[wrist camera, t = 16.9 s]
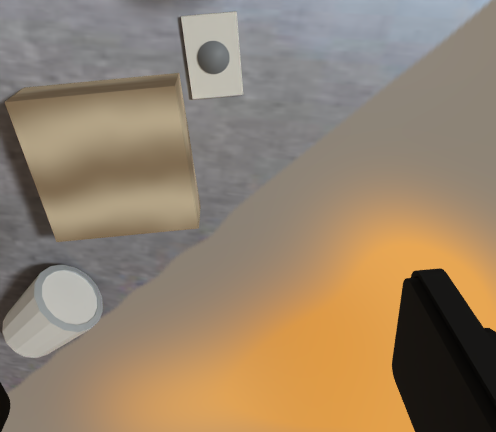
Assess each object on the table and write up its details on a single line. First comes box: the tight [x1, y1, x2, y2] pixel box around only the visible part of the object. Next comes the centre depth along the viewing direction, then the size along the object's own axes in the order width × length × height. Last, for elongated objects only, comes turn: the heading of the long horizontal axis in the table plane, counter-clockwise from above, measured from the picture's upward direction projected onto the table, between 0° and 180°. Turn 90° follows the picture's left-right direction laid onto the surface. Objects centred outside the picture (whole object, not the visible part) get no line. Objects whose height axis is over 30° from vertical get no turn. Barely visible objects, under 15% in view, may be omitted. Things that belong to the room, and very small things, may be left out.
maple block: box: [5, 73, 200, 242], centre depth 36 cm, size 12×12×4 cm
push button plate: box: [181, 11, 243, 99], centre depth 34 cm, size 6×4×1 cm, turn 4°
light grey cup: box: [2, 265, 103, 358], centre depth 42 cm, size 7×7×7 cm
